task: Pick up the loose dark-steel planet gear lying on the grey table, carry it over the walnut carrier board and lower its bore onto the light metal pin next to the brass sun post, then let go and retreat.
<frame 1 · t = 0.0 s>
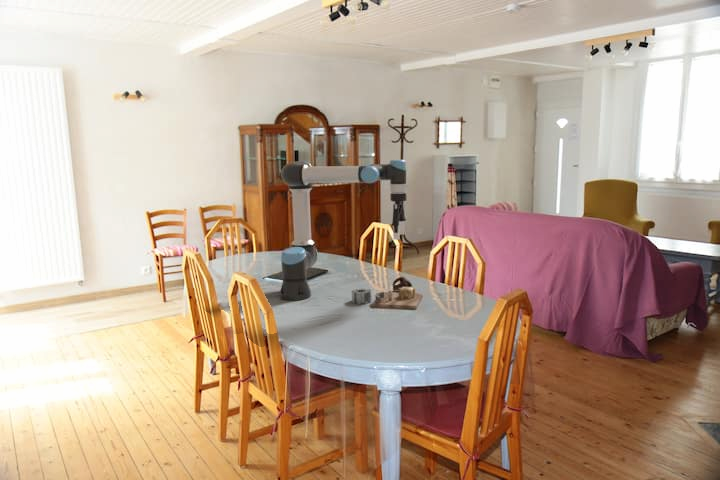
hand: (398, 236, 268), 28 cm above the table, fingers open, 13 cm apart
planet gear: (361, 301, 261), on the table
carrier plate: (398, 301, 259), on the table
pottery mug: (403, 291, 277), on the table
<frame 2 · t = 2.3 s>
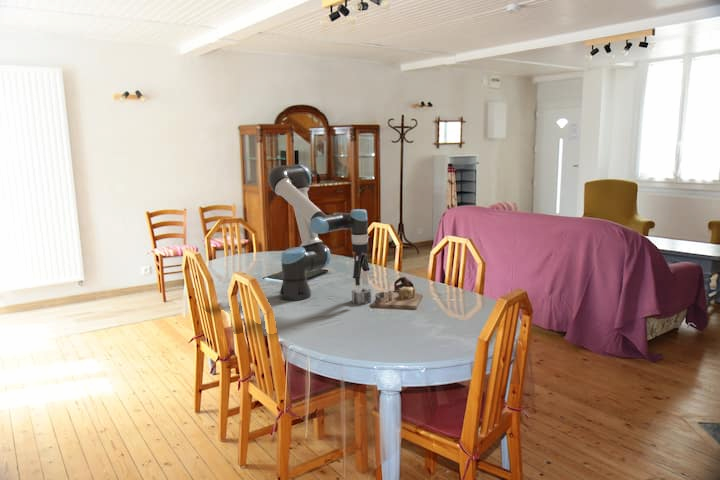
hand: (362, 288, 260), 6 cm above the table, fingers open, 13 cm apart
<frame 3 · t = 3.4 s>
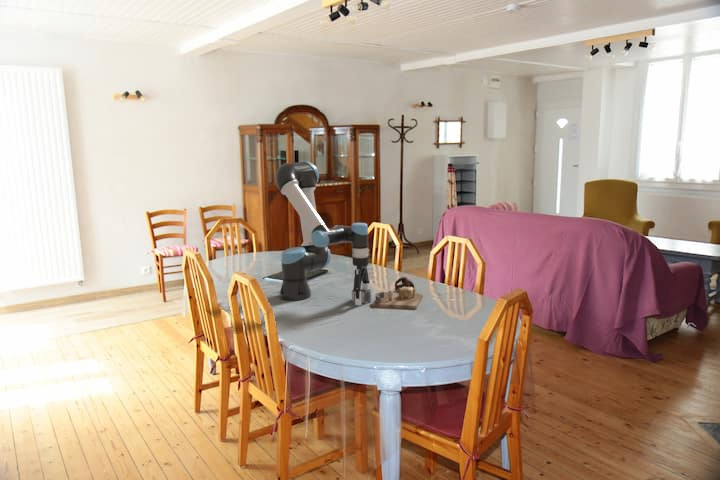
hand: (361, 301, 261), 0 cm above the table, fingers open, 13 cm apart
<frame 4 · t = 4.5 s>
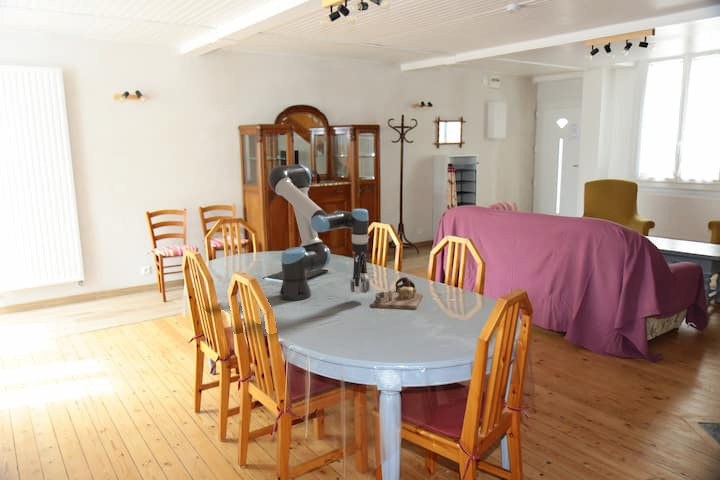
hand: (360, 289, 261), 5 cm above the table, fingers closed on planet gear, 9 cm apart
planet gear: (360, 290, 261), point 5 cm above the table, touching gripper
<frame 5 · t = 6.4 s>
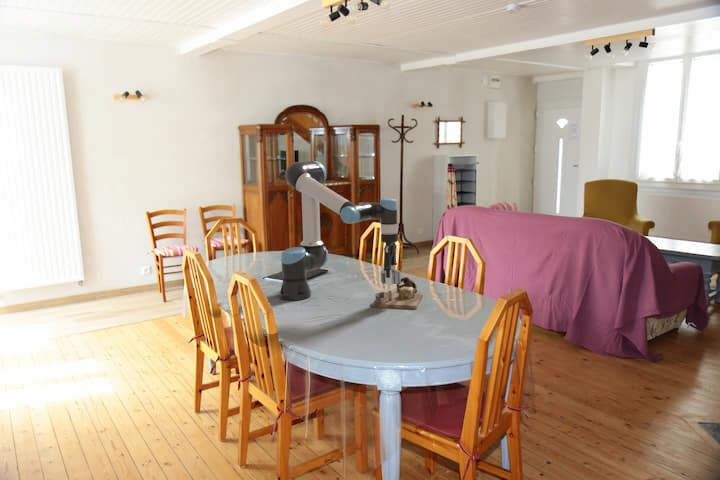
hand: (390, 281, 255), 10 cm above the table, fingers closed on planet gear, 9 cm apart
planet gear: (390, 282, 255), point 10 cm above the table, touching gripper
when the fingers open (2 cm above the table, at t = 8.3 s): planet gear stays where it is, resting on carrier plate.
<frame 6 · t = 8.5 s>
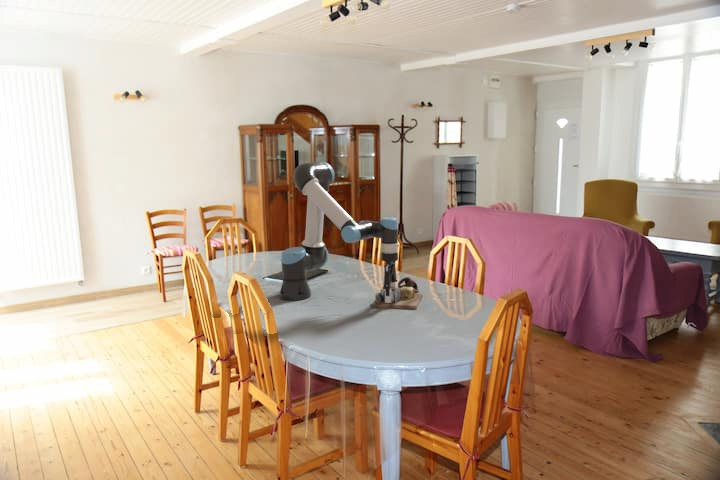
hand: (390, 299, 256), 2 cm above the table, fingers open, 10 cm apart
planet gear: (390, 300, 257), point 1 cm above the table, touching carrier plate
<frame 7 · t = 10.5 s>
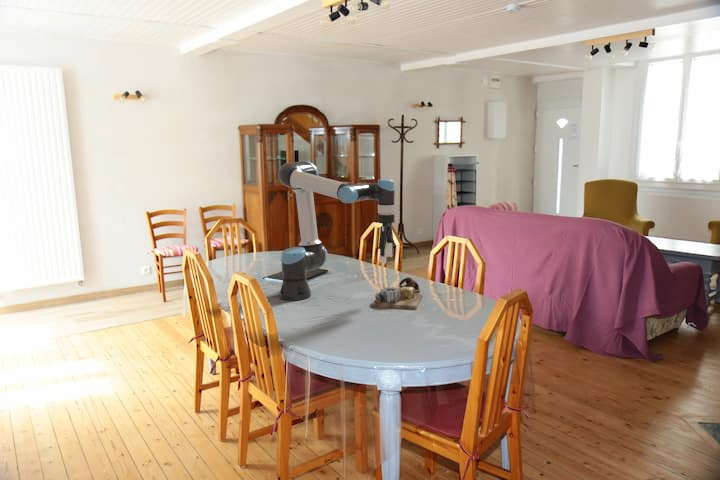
hand: (386, 259, 256), 20 cm above the table, fingers open, 13 cm apart
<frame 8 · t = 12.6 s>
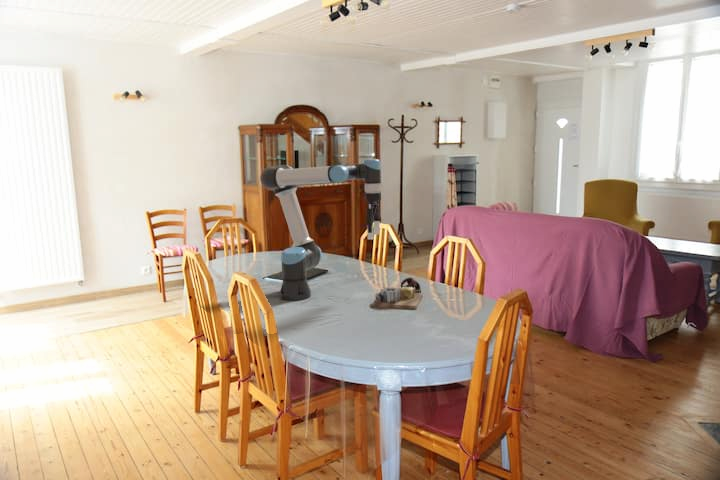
hand: (373, 236, 266), 29 cm above the table, fingers open, 13 cm apart
at the end: planet gear 0.1 cm from the target spot on the carrier plate, point 1.5 cm above the carrier plate's base; planet gear tilted 0°; the gripper is holding nothing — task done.
